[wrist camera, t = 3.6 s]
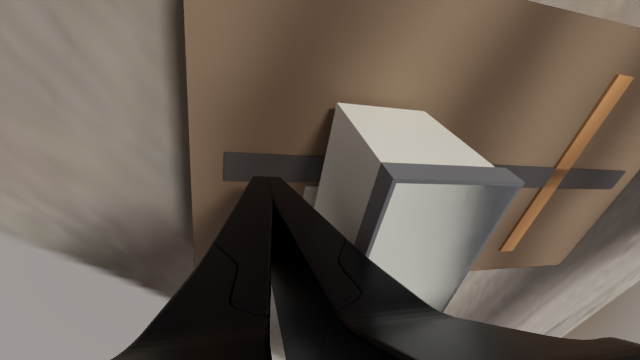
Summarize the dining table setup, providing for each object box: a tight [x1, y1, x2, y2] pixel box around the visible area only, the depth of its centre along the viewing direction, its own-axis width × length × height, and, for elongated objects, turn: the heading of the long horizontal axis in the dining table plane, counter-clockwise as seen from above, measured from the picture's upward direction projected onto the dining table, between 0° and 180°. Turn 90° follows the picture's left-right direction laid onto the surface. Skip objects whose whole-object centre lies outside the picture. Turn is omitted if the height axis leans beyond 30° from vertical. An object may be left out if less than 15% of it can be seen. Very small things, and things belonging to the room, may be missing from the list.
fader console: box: [183, 0, 640, 285], centre depth 13 cm, size 20×12×2 cm, turn 79°
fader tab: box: [314, 103, 525, 313], centre depth 9 cm, size 3×5×4 cm, turn 169°
